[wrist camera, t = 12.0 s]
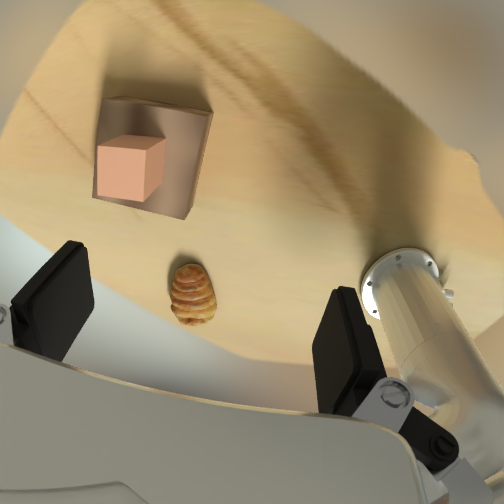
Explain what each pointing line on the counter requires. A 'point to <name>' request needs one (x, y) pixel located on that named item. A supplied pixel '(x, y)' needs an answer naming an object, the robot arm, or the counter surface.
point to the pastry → (192, 296)
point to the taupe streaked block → (176, 148)
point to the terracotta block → (130, 167)
